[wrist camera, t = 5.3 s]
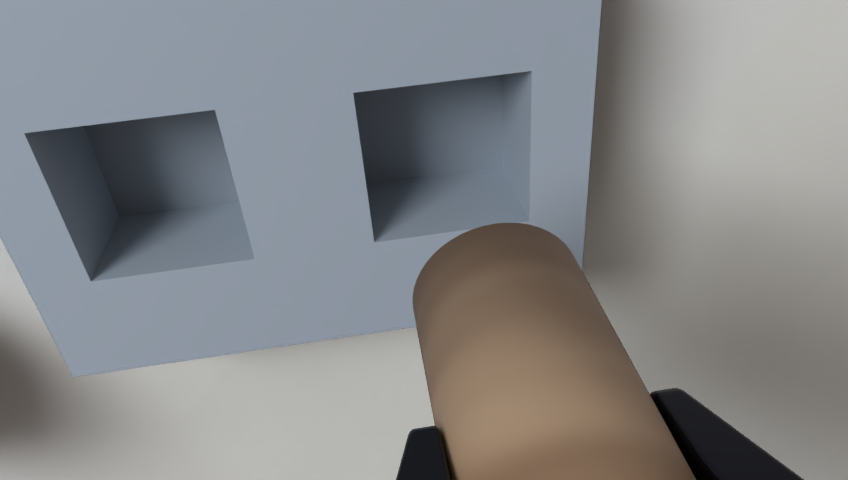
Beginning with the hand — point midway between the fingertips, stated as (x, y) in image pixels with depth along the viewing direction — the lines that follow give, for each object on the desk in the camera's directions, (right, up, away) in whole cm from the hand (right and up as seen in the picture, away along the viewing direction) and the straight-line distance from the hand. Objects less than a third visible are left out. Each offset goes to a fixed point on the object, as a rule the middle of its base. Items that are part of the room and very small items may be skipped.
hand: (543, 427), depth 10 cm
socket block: (-5, +6, +10) cm, 13 cm away
